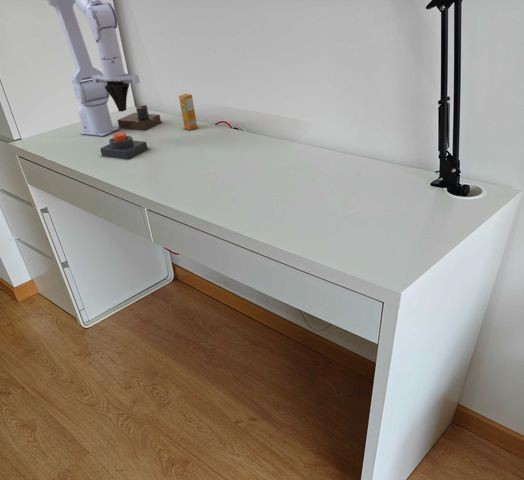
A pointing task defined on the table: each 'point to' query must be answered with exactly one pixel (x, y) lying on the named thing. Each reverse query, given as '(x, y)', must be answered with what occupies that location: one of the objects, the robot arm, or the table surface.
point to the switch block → (123, 148)
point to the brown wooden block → (138, 122)
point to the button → (120, 137)
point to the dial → (142, 112)
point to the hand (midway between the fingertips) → (122, 110)
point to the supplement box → (188, 111)
